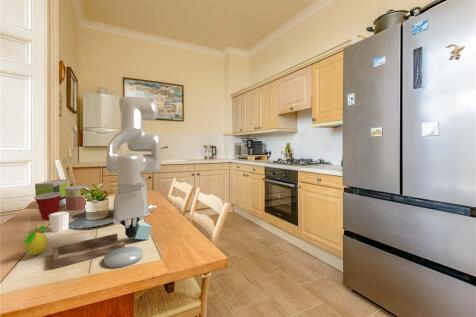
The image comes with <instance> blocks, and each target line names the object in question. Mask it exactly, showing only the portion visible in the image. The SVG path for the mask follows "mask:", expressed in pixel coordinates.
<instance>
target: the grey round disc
mask: <svg viewBox="0 0 476 317" xmlns="http://www.w3.org/2000/svg"><path fill="white" fill-rule="evenodd" d="M142 258H143V250H142V248H141V247H138V246H125V247H123V248H118V249H115V250H113V251H111V252H109V253H107V254H106V255H104V257H103V265H104V266H105V267H107V268H112V269H119V268H120V269H121V268H126V267H129V266H132V265H134V264H136V263H138V262H139V261H141V259H142Z"/></svg>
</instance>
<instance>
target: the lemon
mask: <svg viewBox="0 0 476 317" xmlns="http://www.w3.org/2000/svg"><path fill="white" fill-rule="evenodd" d="M38 230H39V231H42V233H41V232H38ZM47 231H48V228H47V227H46V225H40V226H38V227H37V225H35V230H34V231H32V232H30V233H28V234H27V235H26V236H25V238H24V241H23V244H24V247H25V251H26V252H27V253H28V254H30V255H35V256H38V255H40V254H41V253H43V252H44V251H45V250H46V249H47V248H48V244H49V243H48V237H47V236H46V235H45V234H44V233H43V232H47Z"/></svg>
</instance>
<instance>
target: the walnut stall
mask: <svg viewBox="0 0 476 317" xmlns="http://www.w3.org/2000/svg"><path fill="white" fill-rule="evenodd" d="M117 241H119V240H118V233H112V234H108V235H104V236H100V237H95V238H91V239H87V240H81V241H77V242H73V243H68V244H63V245H60V246H54V247H52V261H53V269H54V270H56V269H60V268H62V267H67V266H71V265H74V264H79V263H81V262H85V261H90V260H92V259H96V258H100V257H103V256H105V255H106V254H107V253H109V252H111V251H113V250H115V249H118V248H123V247H126V245H125V244H126V242H125V241H123V242H118V243H114V242H117ZM110 243H114V244H110ZM106 244H110V245H107V246H106ZM101 245H105V246H102V247H99V246H101ZM97 246H98V247H99V248H94V249H91V250H86V251H83V252H78V253H75V254H71V255H66V256H63V257H60V255H64V254H69V253H73V252H76V251H81V250H85V249H89V248H92V247H97Z"/></svg>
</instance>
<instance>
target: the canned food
mask: <svg viewBox="0 0 476 317" xmlns="http://www.w3.org/2000/svg"><path fill="white" fill-rule="evenodd" d="M81 188H89V189H90V186H89V185H76V186H75V185H74V186H70V187H67V188H65V198H66V204H65V211H66V212H76V211H83V210H86V209H85V205H86V200H85V199H84V198H83V197H82V196H81V195H80V189H81Z"/></svg>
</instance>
